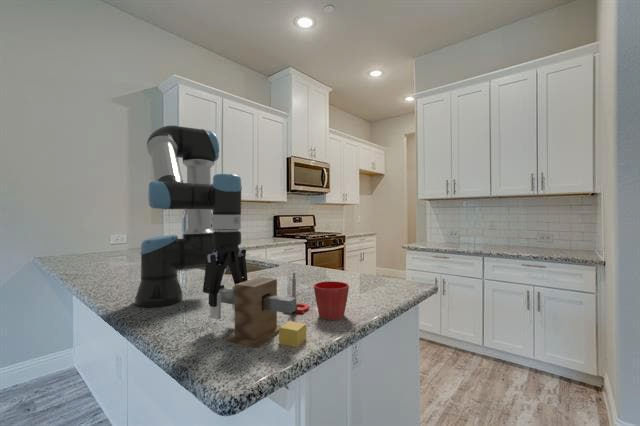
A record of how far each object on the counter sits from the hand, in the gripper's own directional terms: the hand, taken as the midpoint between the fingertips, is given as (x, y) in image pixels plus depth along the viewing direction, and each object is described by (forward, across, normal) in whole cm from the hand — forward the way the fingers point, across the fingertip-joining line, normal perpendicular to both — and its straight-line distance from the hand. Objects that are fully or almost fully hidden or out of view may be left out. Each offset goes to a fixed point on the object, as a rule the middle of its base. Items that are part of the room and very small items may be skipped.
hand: (226, 313), depth 85 cm
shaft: (-3, 0, -8) cm, 9 cm away
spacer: (0, +1, -21) cm, 21 cm away
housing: (+4, 0, -10) cm, 11 cm away
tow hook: (+5, +23, -9) cm, 25 cm away
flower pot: (+4, +22, -22) cm, 31 cm away
